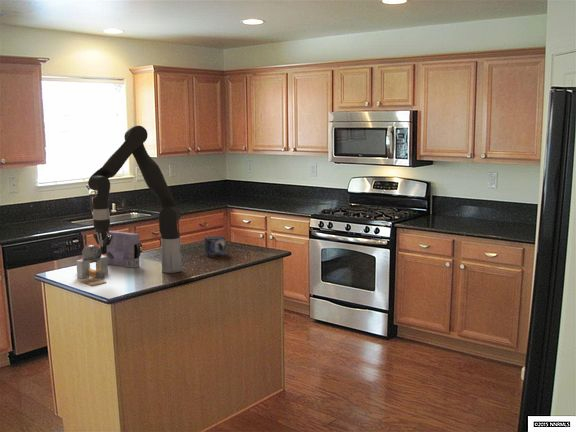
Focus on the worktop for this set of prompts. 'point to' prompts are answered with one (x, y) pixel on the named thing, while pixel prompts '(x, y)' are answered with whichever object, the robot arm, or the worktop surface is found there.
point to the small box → (215, 246)
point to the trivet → (93, 281)
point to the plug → (96, 273)
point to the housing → (91, 261)
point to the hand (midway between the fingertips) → (103, 253)
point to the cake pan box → (123, 249)
